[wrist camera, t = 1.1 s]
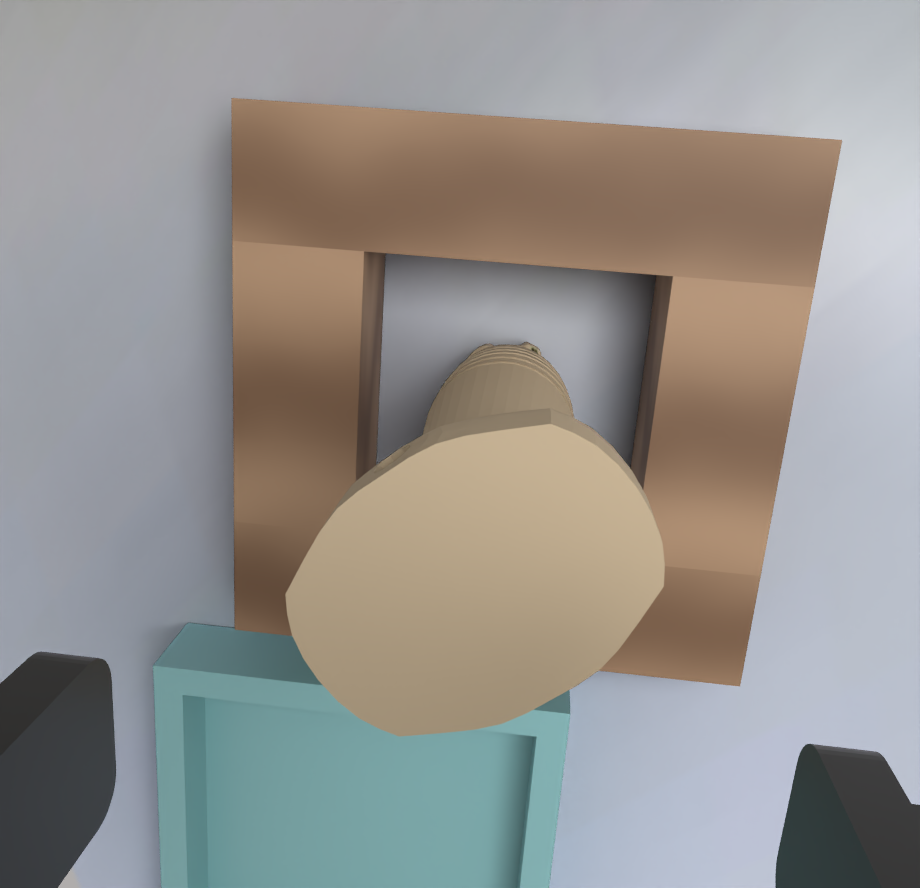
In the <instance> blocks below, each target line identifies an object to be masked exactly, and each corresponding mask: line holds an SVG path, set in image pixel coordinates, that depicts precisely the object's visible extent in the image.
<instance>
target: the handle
mask: <svg viewBox="0 0 920 888" xmlns="http://www.w3.org/2000/svg"><path fill="white" fill-rule="evenodd" d="M664 572H665V562H664V552H663V543H662V539H661V536H660V533H659V529H658V527H657V524H656V521H655V518H654V515H653V513H652V510H651V507H650V504H649V501H648V499H647V496H646V494H645V493H644V491H643V489H642V487H641V486H640V484H639V482H638V480H637V479H636V477H635V475H634V473H633V472H632V470H631V469H630V467H629V466H628V465H627V464H626V462H625V461H624V460H623V459H622V457H621V456H620V455H619V454H618V452H617V451H616V450H615V449H614V448H613V446H612V445H611V444H609V443H608V442H607V441H606V440H605V439H604V438H603V437H601V436H600V435H599V434H598V433H597V432H596V431H595V430H594V429H592V428H591V427H589V426H587V425H586V424H584V423H582V422H580V421H578V420H577V419H575V418H574V415H573V409H572V404H571V400H570V397H569V395H568V392H567V389H566V387H565V385H564V383H563V381H562V379H561V377H560V376H559V374H558V373H557V371H556V370H555V369H554V368H553V366H552V365H551V364H550V363H549V362H548V361H547V360H546V359H545V358H544V357H542V356H541V352H540V350H539V348H538V347H536V346H534V345H533V344H530V343H528V342H524V343H523V344H521V345H496V346H494V345H492V344H485V345H482V346H480V347H478V348H477V349H476V350H475V351H474V352H472V353H471V354H470V356H469V357H468V358H467V359H466V360H465V361H464V362H463V363H461V364H460V365H459V366H458V367H457V368H456V369H455V371H454V372H453V373H452V374H451V375H450V376H449V378H448V379H447V380H446V381H445V383H444V384H443V386H442V387H441V389H440V391H439V392H438V394H437V396H436V398H435V399H434V402H433V403H432V406H431V408H430V410H429V412H428V416H427V420H426V423H425V427H424V431H423V435H422V436H420V437H418V438H417V439H415V440H413V441H412V442H410V443H408V444H406V445H404V446H403V447H401V448H399V449H398V450H397V451H395V452H394V453H393V454H391V455H390V456H389V457H387V458H386V459H384V460H383V461H382V462H380V463H379V464H377V465H376V466H375V467H373V468H372V469H371V470H369V471H368V472H367V473H365V474H364V475H363V476H362V477H361V478H359V479H358V480H357V481H356V482H355V483H354V484H352V485H351V487H350V488H349V489H348V491H347V492H346V493H345V495H344V496H343V497H342V499H341V500H340V501H339V503H338V504H337V506H336V507H335V509H334V510H333V512H332V513H331V515H330V516H329V518H328V519H327V521H326V523H325V524H324V526H323V527H322V529H321V530H320V532H319V534H318V536H317V537H316V539H315V541H314V543H313V544H312V546H311V548H310V549H309V551H308V553H307V555H306V556H305V558H304V560H303V562H302V564H301V566H300V568H299V569H298V571H297V573H296V575H295V577H294V579H293V581H292V583H291V585H290V586H289V588H288V590H287V592H286V594H285V596H286V607H287V616H288V620H289V624H290V628H291V633H292V636H293V638H294V640H295V642H296V644H297V647H298V649H299V651H300V653H301V655H302V657H303V659H304V660H305V662H306V663H307V665H308V666H309V667H310V669H311V670H312V672H313V673H314V675H315V676H316V678H317V679H318V680H319V682H320V683H321V684H322V685H323V686H324V687H325V688H326V689H327V690H328V691H329V692H330V694H331V695H332V696H333V697H334V698H335V699H336V700H337V701H338V702H339V703H340V704H342V705H343V706H344V707H345V708H347V709H348V710H349V711H350V712H352V713H353V714H354V715H355V716H357V717H358V718H359V719H361V720H363V721H365V722H367V723H369V724H371V725H373V726H375V727H377V728H378V729H381V730H383V731H386V732H389V733H391V734H394V735H396V736H399V737H400V736H413V735H425V734H438V733H448V732H457V731H467V730H476V729H480V728H485V727H490V726H494V725H499V724H503V723H505V722H508V721H510V720H512V719H514V718H517V717H519V716H521V715H524V714H526V713H528V712H530V711H532V710H534V709H535V708H537V707H539V706H541V705H543V704H545V703H546V702H548V701H550V700H552V699H554V698H555V697H557V696H559V695H561V694H563V693H564V692H566V691H568V690H570V689H572V688H574V687H575V686H577V685H579V684H580V683H581V682H583V681H584V680H586V679H587V678H589V677H590V676H592V675H593V674H594V673H596V672H597V671H599V670H600V669H601V668H602V667H603V666H604V665H605V664H606V663H607V662H608V661H609V660H610V658H611V657H612V656H613V655H614V654H615V653H616V652H617V651H618V650H619V649H620V647H621V646H622V645H623V643H624V642H625V641H626V639H627V638H628V637H629V635H630V634H631V632H632V631H633V630H634V628H635V627H636V626H637V624H638V623H639V622H640V620H641V619H642V617H643V616H644V614H645V613H646V611H647V610H648V609H649V607H650V606H651V604H652V603H653V601H654V600H655V598H656V597H657V596H658V594H659V593H660V591H661V590H662V588H663V587H664Z"/></svg>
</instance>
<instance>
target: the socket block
mask: <svg viewBox="0 0 920 888" xmlns="http://www.w3.org/2000/svg"><path fill="white" fill-rule="evenodd" d="M841 143H842V140H834V139H819V138H805V137H790V136H776V135H761V134H747V133H732V132H717V131H703V130H688V129H674V128H659V127H645V126H630V125H616V124H601V123H587V122H572V121H557V120H543V119H528V118H514V117H499V116H485V115H470V114H456V113H441V112H427V111H412V110H398V109H383V108H368V107H354V106H339V105H325V104H310V103H296V102H281V101H267V100H252V99H238V98H232V263H233V432H234V601H235V630H242V631H251V632H260V633H268V634H277V635H286V636H292V633H291V628H290V624H289V620H288V616H287V607H286V596H285V594H286V592H287V590H288V588H289V586H290V585H291V583H292V581H293V579H294V577H295V575H296V573H297V571H298V569H299V568H300V566H301V564H302V562H303V560H304V558H305V556H306V555H307V553H308V551H309V549H310V548H311V546H312V544H313V543H314V541H315V539H316V537H317V536H318V534H319V532H320V530H321V529H322V527H323V526H324V524H325V523H326V521H327V519H328V518H329V516H330V515H331V513H332V512H333V510H334V509H335V507H336V506H337V504H338V503H339V501H340V500H341V499H342V497H343V496H344V495H345V493H346V492H347V491H348V489H349V488H350V487H351V485H352V484H354V483H355V482H356V481H357V480H358V479H359V478H361V477H362V476H363V475H364V474H365V473H367V472H368V471H369V470H371V469H372V468H373V467H375V466H376V458H377V435H378V412H379V390H380V367H381V345H382V322H383V300H384V277H385V254H386V253H390V254H402V255H415V256H427V257H440V258H452V259H465V260H477V261H490V262H502V263H514V264H527V265H539V266H552V267H564V268H577V269H589V270H601V271H614V272H626V273H639V274H651V275H656V282H655V289H654V297H653V304H652V311H651V319H650V326H649V334H648V341H647V349H646V356H645V364H644V371H643V379H642V386H641V393H640V401H639V408H638V416H637V423H636V431H635V438H634V446H633V453H632V461H631V468H630V469H631V470H632V472H633V473H634V475H635V477H636V479H637V480H638V482H639V484H640V486H641V487H642V489H643V491H644V493H645V494H646V496H647V499H648V501H649V504H650V507H651V510H652V513H653V515H654V518H655V521H656V524H657V527H658V529H659V533H660V536H661V539H662V543H663V552H664V562H665V572H664V587H663V588H662V590H661V591H660V593H659V594H658V596H657V597H656V598H655V600H654V601H653V603H652V604H651V606H650V607H649V609H648V610H647V611H646V613H645V614H644V616H643V617H642V619H641V620H640V622H639V623H638V624H637V626H636V627H635V628H634V630H633V631H632V632H631V634H630V635H629V637H628V638H627V639H626V641H625V642H624V643H623V645H622V646H621V647H620V649H619V650H618V651H617V652H616V653H615V654H614V655H613V656H612V657H611V658H610V660H609V661H608V662H607V663H606V664H605V665H604V666H603V667H602V668H601V669H600V670H599V671H607V672H616V673H625V674H634V675H643V676H652V677H661V678H670V679H679V680H688V681H696V682H705V683H714V684H723V685H732V686H740V683H741V678H742V672H743V667H744V662H745V656H746V651H747V646H748V640H749V635H750V630H751V624H752V619H753V614H754V608H755V603H756V598H757V592H758V587H759V582H760V576H761V571H762V565H763V560H764V555H765V549H766V544H767V539H768V533H769V528H770V523H771V517H772V512H773V507H774V501H775V496H776V491H777V485H778V480H779V475H780V469H781V464H782V459H783V453H784V448H785V443H786V437H787V432H788V427H789V421H790V416H791V411H792V405H793V400H794V394H795V389H796V384H797V378H798V373H799V368H800V362H801V357H802V352H803V346H804V341H805V336H806V330H807V325H808V320H809V314H810V309H811V304H812V298H813V293H814V288H815V282H816V277H817V272H818V266H819V261H820V256H821V250H822V245H823V240H824V234H825V229H826V224H827V218H828V213H829V207H830V202H831V197H832V191H833V186H834V181H835V175H836V170H837V165H838V159H839V154H840V149H841Z"/></svg>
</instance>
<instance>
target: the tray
mask: <svg viewBox="0 0 920 888" xmlns="http://www.w3.org/2000/svg"><path fill="white" fill-rule="evenodd" d="M153 681H154V708H155V735H156V762H157V789H158V816H159V843H160V870H161V888H549V883H550V875H551V867H552V859H553V851H554V842H555V834H556V826H557V818H558V810H559V802H560V794H561V786H562V778H563V770H564V762H565V753H566V745H567V737H568V729H569V721H570V693H569V690H568V691H566V692H564V693H563V694H561V695H559V696H557V697H555V698H554V699H552V700H550V701H548V702H546V703H545V704H543V705H541V706H539V707H537V708H535V709H534V710H532V711H530V712H528V713H526V714H524V715H521V716H519V717H517V718H514V719H512V720H510V721H508V722H505V723H503V724H499V725H494V726H490V727H485V728H480V729H476V730H467V731H457V732H448V733H438V734H425V735H413V736H400V737H399V736H396V735H394V734H391V733H389V732H386V731H383V730H381V729H378V728H377V727H375V726H373V725H371V724H369V723H367V722H365V721H363V720H361V719H359V718H358V717H357V716H355V715H354V714H353V713H352V712H350V711H349V710H348V709H347V708H345V707H344V706H343V705H342V704H340V703H339V702H338V701H337V700H336V699H335V698H334V697H333V696H332V695H331V694H330V692H329V691H328V690H327V689H326V688H325V687H324V686H323V685H322V684H321V683H320V682H319V680H318V679H317V678H316V676H315V675H314V673H313V672H312V670H311V669H310V667H309V666H308V665H307V663H306V662H305V660H304V659H303V657H302V655H301V653H300V651H299V649H298V647H297V644H296V642H295V640H294V638H293V636H286V635H277V634H268V633H260V632H251V631H242V630H235V628H229V627H221V626H212V625H203V624H194V623H187V624H186V625H185V627H184V628H183V629H182V630H181V632H180V633H179V634H178V635H177V637H176V638H175V639H174V640H173V642H172V643H171V644H170V645H169V646H168V648H167V649H166V650H165V651H164V653H163V654H162V655H161V656H160V658H159V659H158V660H157V661H156V663H155V664H154V665H153Z"/></svg>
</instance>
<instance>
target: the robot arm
mask: <svg viewBox="0 0 920 888" xmlns="http://www.w3.org/2000/svg"><path fill="white" fill-rule="evenodd" d="M115 779H116V760H115V739H114V719H113V699H112V680H111V672H110V668H109V666H108V664H107V663H106V661H105V660H103V659H99V658H91V657H82V656H74V655H65V654H57V653H48V652H37V653H35V654H33V655H32V656H31V657H29V658H28V659H27V660H26V661H25V662H24V663H23V664H21V665H20V666H19V667H18V668H17V669H16V670H15V671H14V672H13V673H12V674H10V675H9V676H8V677H7V678H6V679H5V680H4V681H3V682H2V683H1V684H0V888H58V886H59V885H60V884H61V882H62V881H63V879H64V877H65V876H66V875H67V874H68V872H69V871H70V869H71V868H72V866H73V865H74V864H75V862H76V861H77V859H78V858H79V856H80V855H81V854H82V852H83V851H84V849H85V848H86V846H87V845H88V844H89V842H90V841H91V839H92V838H93V836H94V835H95V834H96V832H97V831H98V829H99V828H100V826H101V824H102V822H103V820H104V818H105V816H106V814H107V812H108V809H109V806H110V803H111V799H112V796H113V791H114V786H115ZM776 888H920V805H915V804H911V803H910V801H909V799H908V797H907V796H906V794H905V792H904V791H903V789H902V787H901V785H900V784H899V782H898V780H897V779H896V777H895V775H894V773H893V772H892V770H891V768H890V766H889V765H888V763H887V761H886V760H885V758H884V757H883V756H882V755H881V754H880V753H878V752H874V751H865V750H857V749H848V748H840V747H831V746H823V745H814V744H807V745H805V746H804V747H803V749H802V751H801V752H800V755H799V758H798V762H797V766H796V771H795V776H794V780H793V785H792V790H791V795H790V799H789V804H788V809H787V813H786V818H785V823H784V828H783V832H782V837H781V842H780V846H779V851H778V856H777V863H776Z"/></svg>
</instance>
